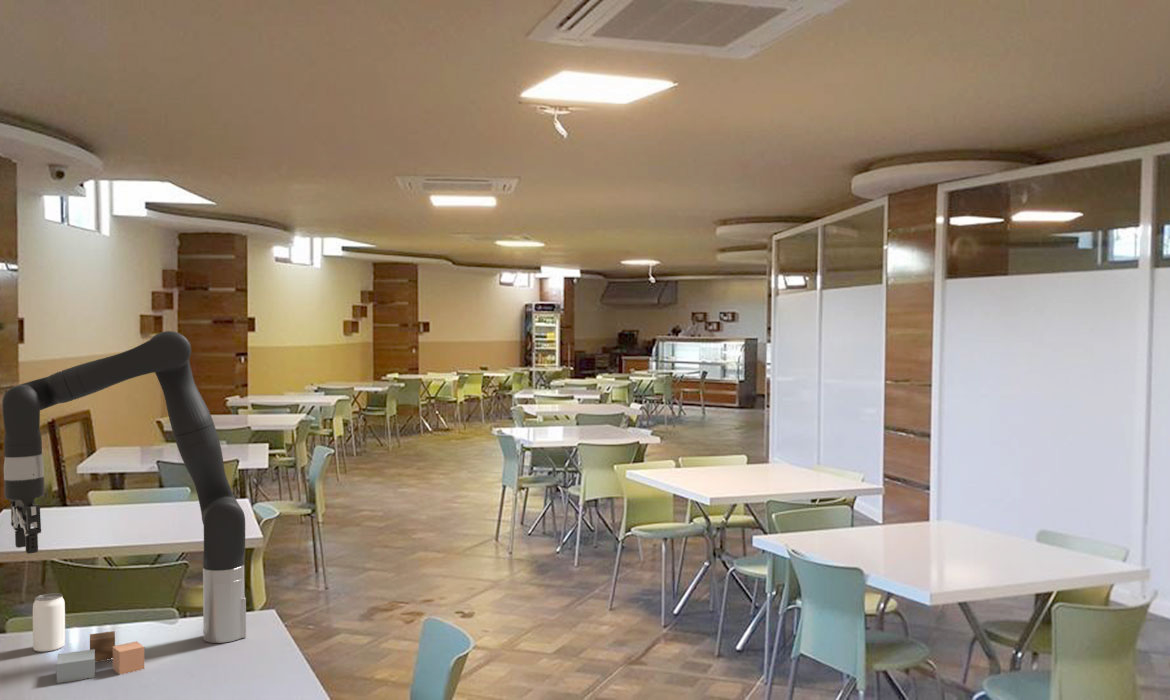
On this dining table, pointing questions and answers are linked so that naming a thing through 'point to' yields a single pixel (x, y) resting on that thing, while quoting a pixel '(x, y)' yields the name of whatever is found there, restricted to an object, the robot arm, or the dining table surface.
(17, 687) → the dining table surface
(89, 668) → the base block
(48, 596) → the can
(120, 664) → the terracotta cube
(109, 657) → the walnut cube
